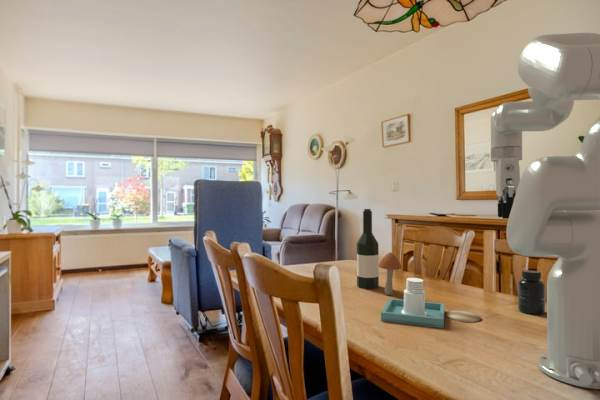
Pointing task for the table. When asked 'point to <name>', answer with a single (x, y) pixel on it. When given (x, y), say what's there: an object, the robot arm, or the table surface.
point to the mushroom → (389, 270)
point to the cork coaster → (463, 316)
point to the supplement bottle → (531, 293)
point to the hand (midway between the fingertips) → (506, 217)
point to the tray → (432, 319)
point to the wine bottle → (367, 255)
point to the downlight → (414, 297)
